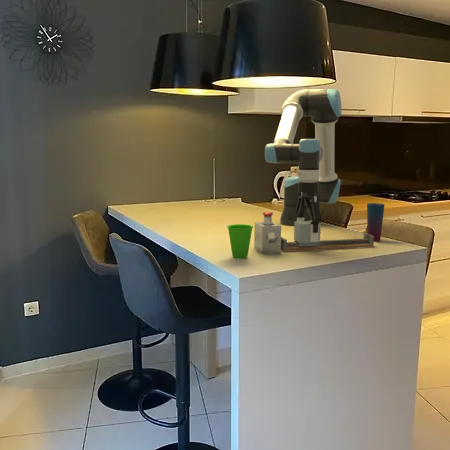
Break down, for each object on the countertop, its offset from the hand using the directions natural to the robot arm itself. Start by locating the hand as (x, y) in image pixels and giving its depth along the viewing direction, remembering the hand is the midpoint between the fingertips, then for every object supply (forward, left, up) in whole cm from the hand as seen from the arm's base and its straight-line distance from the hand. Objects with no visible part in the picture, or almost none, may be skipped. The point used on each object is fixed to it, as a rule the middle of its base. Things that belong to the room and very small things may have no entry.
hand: (306, 237), depth 187 cm
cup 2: (-9, +33, -4) cm, 34 cm away
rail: (0, +8, -4) cm, 9 cm away
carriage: (0, 0, -3) cm, 3 cm away
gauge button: (0, -16, +2) cm, 16 cm away
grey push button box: (0, -16, -4) cm, 16 cm away
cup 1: (+8, -28, -4) cm, 30 cm away
